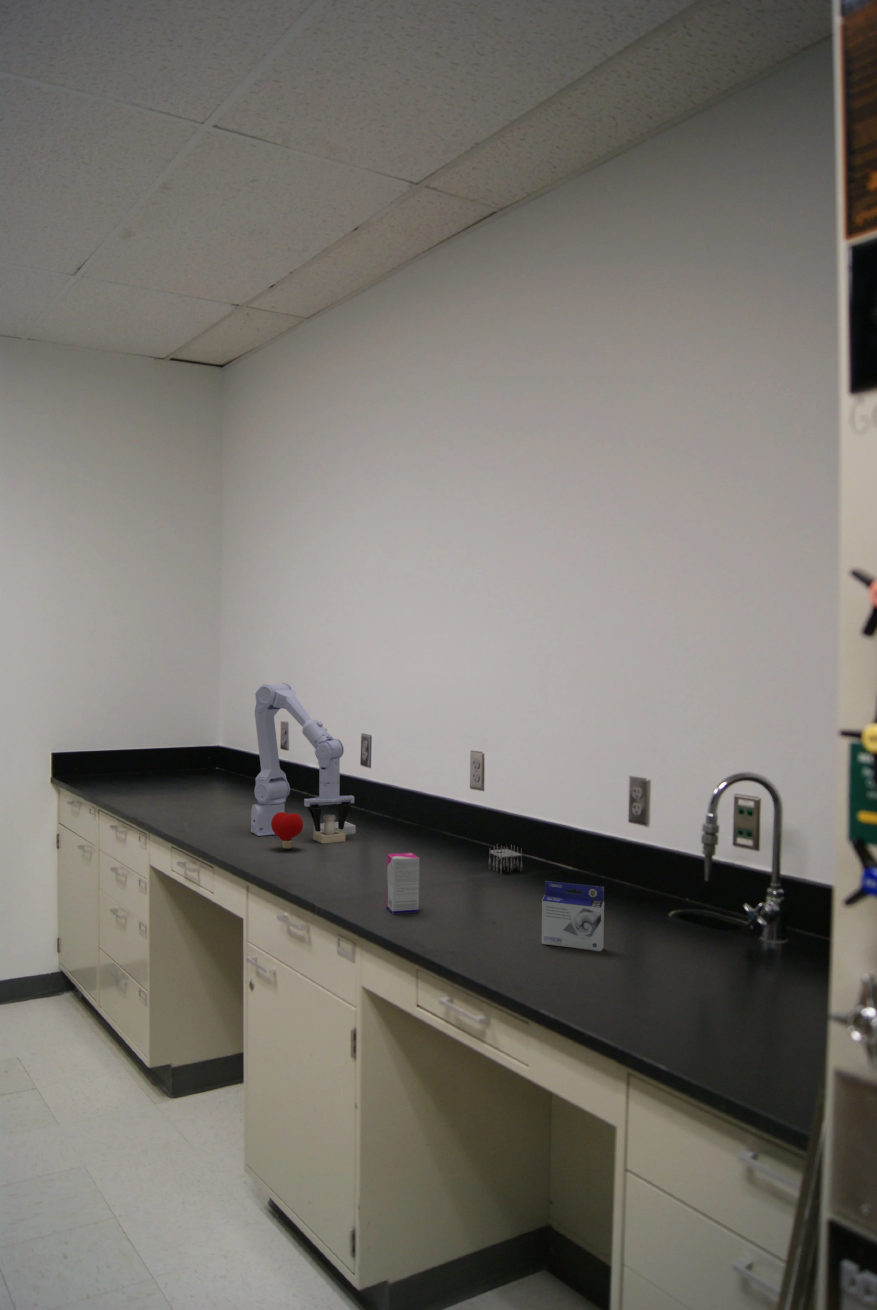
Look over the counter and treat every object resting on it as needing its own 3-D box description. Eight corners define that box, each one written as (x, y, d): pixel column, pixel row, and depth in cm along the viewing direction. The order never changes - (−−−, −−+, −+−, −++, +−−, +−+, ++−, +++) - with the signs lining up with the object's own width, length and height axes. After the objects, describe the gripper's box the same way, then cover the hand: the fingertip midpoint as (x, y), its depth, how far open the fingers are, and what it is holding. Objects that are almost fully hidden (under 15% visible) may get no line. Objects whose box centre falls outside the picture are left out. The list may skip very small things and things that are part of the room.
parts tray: (323, 837, 281) (323, 828, 281) (313, 832, 288) (313, 824, 288) (355, 834, 285) (355, 825, 285) (345, 829, 292) (345, 821, 292)
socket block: (322, 843, 272) (322, 836, 272) (313, 839, 278) (313, 832, 278) (345, 841, 275) (345, 834, 275) (336, 836, 281) (336, 829, 281)
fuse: (325, 841, 274) (326, 817, 274) (321, 839, 277) (321, 815, 277) (337, 840, 276) (337, 816, 276) (332, 838, 279) (332, 814, 279)
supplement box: (419, 912, 202) (420, 857, 202) (392, 914, 201) (392, 859, 201) (412, 905, 208) (412, 851, 208) (385, 907, 206) (385, 853, 206)
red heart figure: (308, 848, 265) (308, 812, 265) (294, 853, 258) (294, 816, 258) (280, 845, 269) (280, 809, 268) (265, 850, 262) (265, 813, 262)
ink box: (540, 945, 180) (540, 883, 180) (543, 941, 183) (544, 880, 183) (602, 952, 176) (602, 889, 176) (604, 948, 179) (605, 886, 178)
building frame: (500, 875, 236) (500, 850, 236) (485, 868, 243) (485, 844, 243) (522, 872, 238) (523, 848, 238) (507, 865, 246) (507, 842, 245)
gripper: (310, 785, 270) (310, 834, 270) (358, 782, 276) (358, 830, 276) (301, 782, 276) (301, 830, 276) (348, 779, 283) (348, 825, 283)
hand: (329, 829), depth 277 cm, fingers open, 6 cm apart
